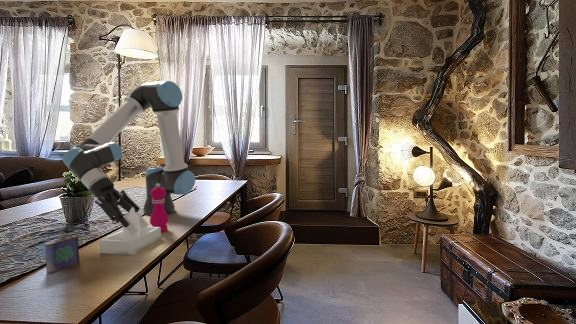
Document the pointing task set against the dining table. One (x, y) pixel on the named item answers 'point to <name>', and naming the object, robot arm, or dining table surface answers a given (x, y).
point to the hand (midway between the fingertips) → (140, 229)
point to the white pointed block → (136, 221)
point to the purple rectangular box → (62, 253)
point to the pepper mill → (158, 208)
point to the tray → (119, 246)
